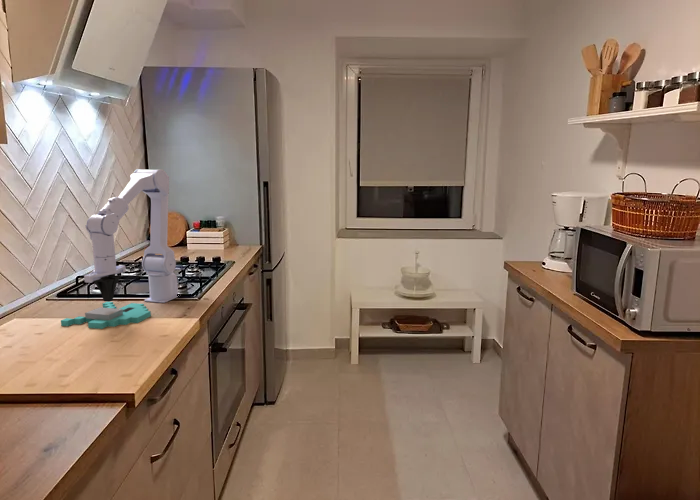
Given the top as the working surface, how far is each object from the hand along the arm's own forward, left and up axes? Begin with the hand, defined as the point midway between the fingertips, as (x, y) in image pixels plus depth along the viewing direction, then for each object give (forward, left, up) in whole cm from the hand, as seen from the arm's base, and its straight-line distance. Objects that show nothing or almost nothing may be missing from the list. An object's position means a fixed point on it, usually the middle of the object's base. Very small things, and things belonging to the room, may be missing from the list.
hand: (108, 300), depth 148 cm
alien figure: (-3, 0, -7) cm, 7 cm away
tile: (-2, 0, -4) cm, 4 cm away
